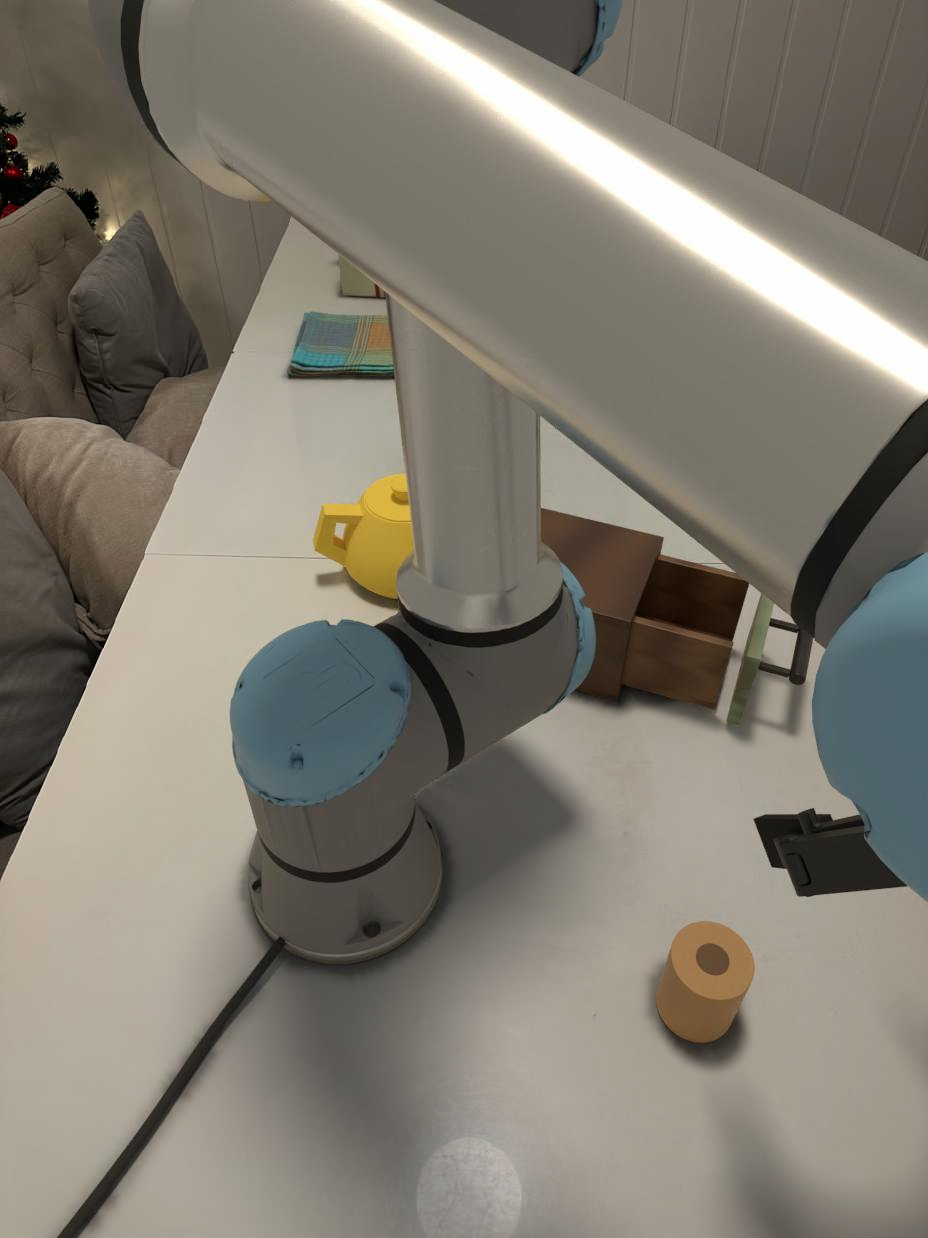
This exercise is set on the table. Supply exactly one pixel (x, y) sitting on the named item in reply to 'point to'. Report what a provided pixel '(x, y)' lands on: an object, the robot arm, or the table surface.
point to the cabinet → (604, 585)
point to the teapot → (370, 534)
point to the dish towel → (342, 346)
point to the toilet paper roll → (704, 981)
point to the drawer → (701, 636)
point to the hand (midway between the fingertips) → (872, 799)
